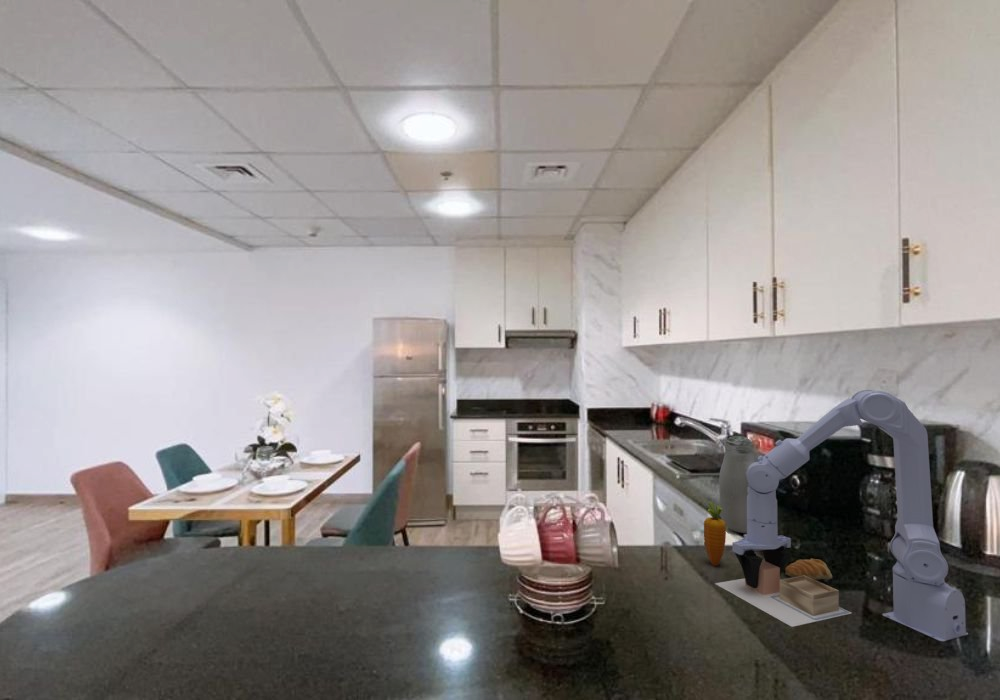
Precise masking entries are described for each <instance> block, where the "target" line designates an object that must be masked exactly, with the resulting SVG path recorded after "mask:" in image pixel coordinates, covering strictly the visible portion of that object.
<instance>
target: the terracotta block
mask: <svg viewBox="0 0 1000 700" xmlns="http://www.w3.org/2000/svg"><path fill="white" fill-rule="evenodd" d="M780 579H781V576H780V568H779V567H777V566H775V565H773V564H770V563H768V562H766V561H765V559H763V560H762V563H761V565H760V569H759V574H758V586H757V588H752V587H750V586H748V585H747V584H746V580H745V586H747V587H749V588H751V589H753V590H755V591H757V592H759V593H761V594H762V595H767V594H772V593H778V592H780Z"/></svg>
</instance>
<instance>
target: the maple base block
mask: <svg viewBox="0 0 1000 700" xmlns="http://www.w3.org/2000/svg"><path fill="white" fill-rule="evenodd" d="M780 579H781V578H780ZM839 591H840V590H838V589H836V588H834V587H832V586H830V585H827V584H825V583H823V582H820V581H819V580H814V579H811V578H809V577H807V576H798V577H787V578H782V579H781V580H780V599H781V600H783V601H785V602H787V603H789V604H791V605H793V606H795V607H797V608H799V609H800V610H802V611H804V612H806V613H808V614H810V615H812V616H816V615H820V614H825V613H829V612H834V611H838V610H839V607H840V599H839V598H840V596H839V595H840V593H839Z"/></svg>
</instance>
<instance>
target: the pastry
mask: <svg viewBox="0 0 1000 700" xmlns="http://www.w3.org/2000/svg"><path fill="white" fill-rule="evenodd" d="M784 570H785V575H787V576H789V577H790V578H792V577H798V576H807V577H809V578H811V579H814V580H816V581H819V580H828V579H830V580H831V579H833V575H832V573H831V570H830V569H829V568H828V565H827V563H825V562H824V561H823V560H821V559H815V558H812V557H811V558H810V559H797V560H795V562H793V563H792V562H791V563H790V564H789V565H787V566H786V567H785V569H784Z"/></svg>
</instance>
